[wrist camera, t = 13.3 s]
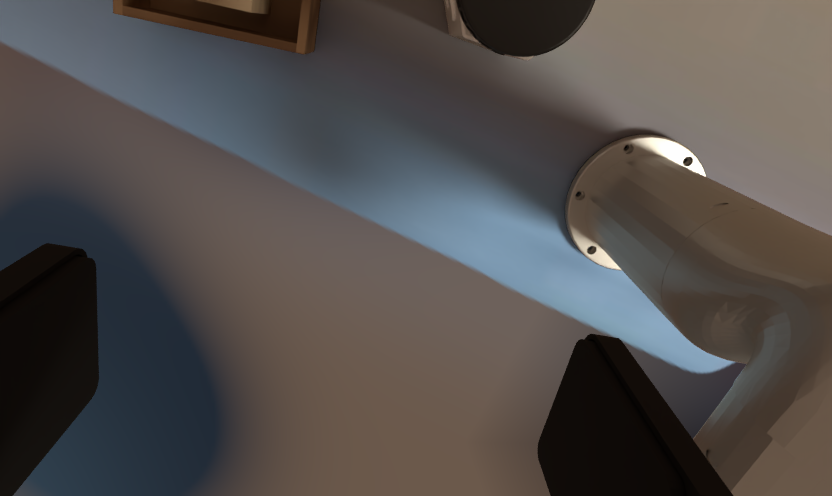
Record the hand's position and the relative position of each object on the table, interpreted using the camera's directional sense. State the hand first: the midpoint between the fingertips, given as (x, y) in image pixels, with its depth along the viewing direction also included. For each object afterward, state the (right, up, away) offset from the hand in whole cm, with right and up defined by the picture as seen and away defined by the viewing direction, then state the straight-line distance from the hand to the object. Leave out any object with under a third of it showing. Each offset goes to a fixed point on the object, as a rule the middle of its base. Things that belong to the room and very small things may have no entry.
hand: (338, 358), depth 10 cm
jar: (+8, +22, +31) cm, 38 cm away
